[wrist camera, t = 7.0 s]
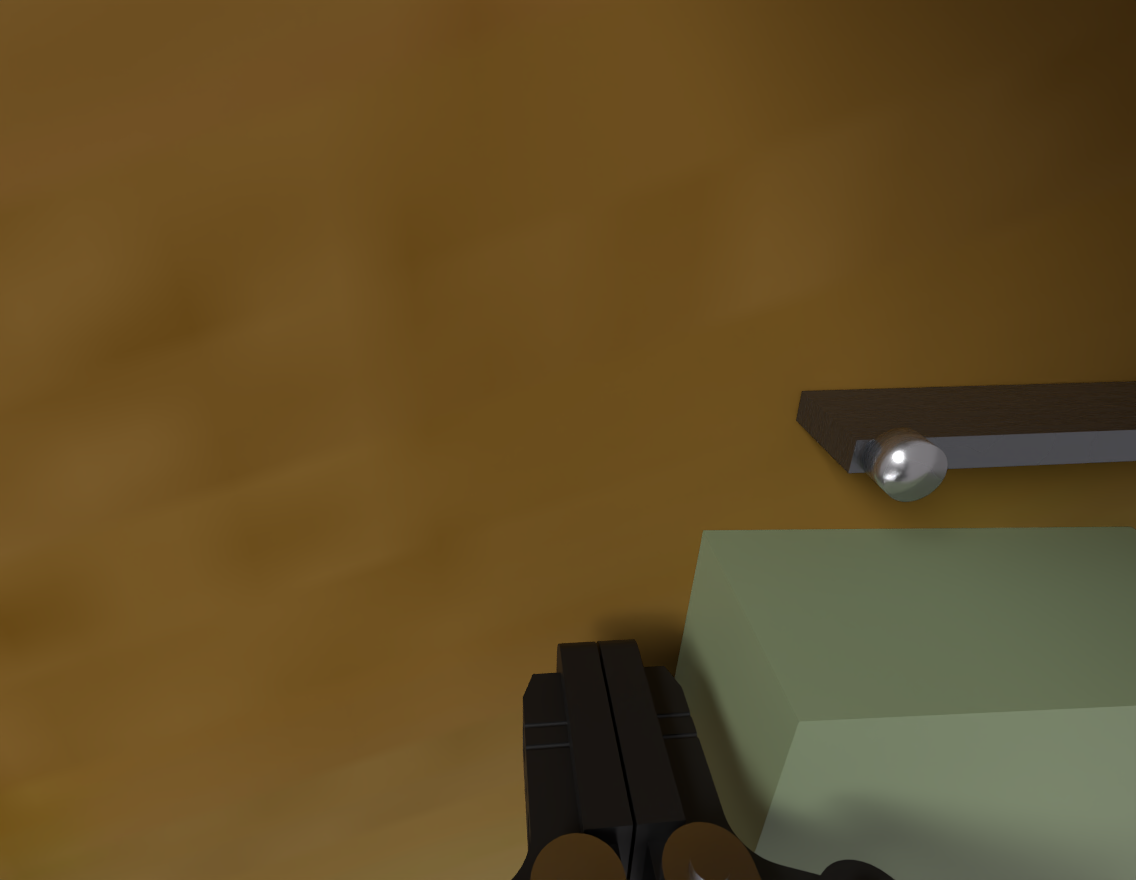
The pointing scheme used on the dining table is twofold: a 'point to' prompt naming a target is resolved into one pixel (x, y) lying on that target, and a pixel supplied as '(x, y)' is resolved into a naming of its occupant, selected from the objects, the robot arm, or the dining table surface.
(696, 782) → the robot arm
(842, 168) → the dining table surface
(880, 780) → the pale green block
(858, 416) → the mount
